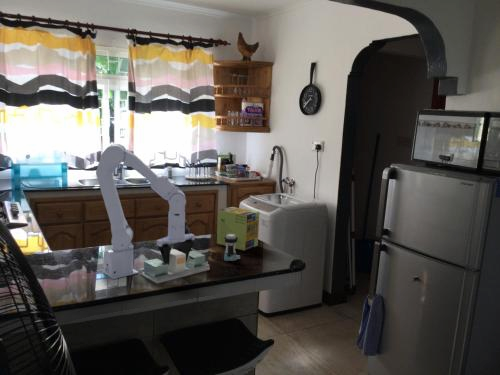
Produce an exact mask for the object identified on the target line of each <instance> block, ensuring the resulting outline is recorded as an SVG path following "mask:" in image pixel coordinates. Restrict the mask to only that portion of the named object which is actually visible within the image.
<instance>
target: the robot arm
mask: <svg viewBox="0 0 500 375" xmlns="http://www.w3.org/2000/svg"><path fill="white" fill-rule="evenodd" d="M121 163H122V166H123V167H129V168H133V170H135V171H136V172H138V173H139V175H141V176H142V177H143V178H144V179H146V180H147V181H149V183H150V188H151V189H152V190H153V191H154V192H156V193H157V195H159V196H160V197H161V198H162V199H164V200H166V201H167V202H168V205H169V209H168V210H169V211H168V215H167V217H168V222H167V223H168V225H167V229H168V230H167V236H165V237H162V238H160V239H156V246H157V248H158V250H159V252H160V253H161V254H160V255H161V257H162V261H163V262H165V263H167V264H168V265H169V259H170V252H171V250H172V249H173V248H172V247H171V246H169V245H171V244H173V243H178V242H181V247H182V251H181V252H182V253H185V254H186V261H187V259H188V255H189V252H190V251H192V248H193V247H194V245H195V242H194V241H195V236H196V235H195V234H193V233H189V234H185V220H186V212H185V211H186V204H187V199H186V194H185V193H184V192H183V190H182V189H180V187H179V186H176V185H174V183H172V182H171V181H170V180H169V177H168V176H164V175H163V174H160V175H159V174H156V173H155V172H154V171H153V170H152V169H151V168H150V167H149V166H147V164H146V163H145V162H143V160H141V158H139V157H138V156H137V155H136V154H134V153H133V152H132V151H131V150H129V149H128V148H127V149H126V147H125V146H124V145H122V144H120V143H114V144H112V145H110V146H108V147H106V148H105V150H104V151H103V152H102V153H101V155H100V159H99V162H98V165H97V168H96V171H95V174H96V178H97V179H96V180H97V182H98V185H99V189H100V192H101V196H102V199H103V201H104V206H105V209H106V213H107V216H108V219H109V222H110V232H111V235H112V236H111V240H110V242H111V243H110V244H111V248H110V249H108V250H105V251H104V252H103V256H102V257H103V259H102V260H103V262H102V263H103V264H102V265H103V270H102V273H103V274H104V275H106V276H107V277H109V278H110V279H112V280H115V279H119V278H123V277H127V276H132V275H136V274H139V271H138V270H136V269H135V268H134V245H133V242H132V239H133V238H134V231H133V229H132V228H131V227H130V226H129V224H128V221H127V219H126V217H125V214H124V210H123V206H122V204H121V200H120V197H119V196H120V195H119V192H118V189H117V186H116V183H115V179H114V176H113V174H114V172H116V169H117V167H118V166H119V165H121Z"/></svg>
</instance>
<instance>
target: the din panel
mask: <svg viewBox="0 0 500 375" xmlns="http://www.w3.org/2000/svg"><path fill="white" fill-rule="evenodd" d="M210 269H211V268H210V264H206V255H205V254H203V253H202V252H201V253H200V252H198V251H197V250H190V252H189V255H188V259H187V261H186V265H185V270H184V271H180V272H176V273H175V272H173V271H171V270H169V269H168V264H167V263H165V262H164V261H163V260H161V259H158V258H153V259H148V260H145V261H143V267H142V268H139V275H140V276H142V277H144V278H146V279H148V280H149V281H151V282H153V283H155V284H161V283H165V282H169V281H173V280H175V279H179V278H184V277H186V276H191V275H194V274H199V273H202V272H206V271H209V270H210Z"/></svg>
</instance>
